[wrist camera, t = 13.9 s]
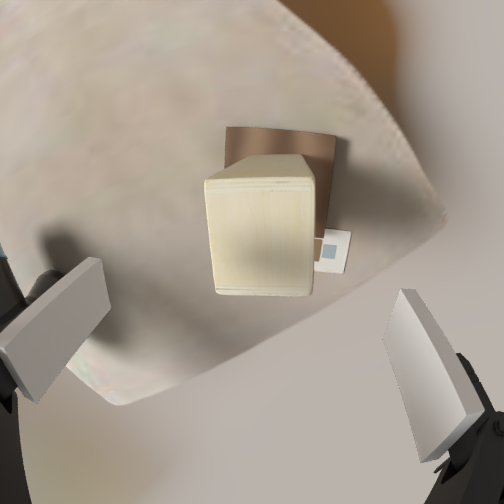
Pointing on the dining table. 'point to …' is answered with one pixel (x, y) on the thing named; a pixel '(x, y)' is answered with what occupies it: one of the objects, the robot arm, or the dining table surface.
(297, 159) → the toy refrigerator
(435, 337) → the robot arm
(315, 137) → the walnut plinth
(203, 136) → the dining table surface
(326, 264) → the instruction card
